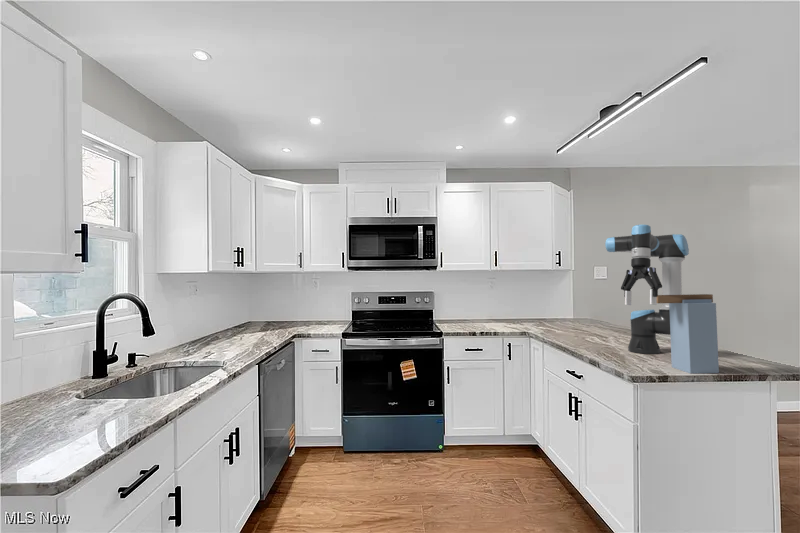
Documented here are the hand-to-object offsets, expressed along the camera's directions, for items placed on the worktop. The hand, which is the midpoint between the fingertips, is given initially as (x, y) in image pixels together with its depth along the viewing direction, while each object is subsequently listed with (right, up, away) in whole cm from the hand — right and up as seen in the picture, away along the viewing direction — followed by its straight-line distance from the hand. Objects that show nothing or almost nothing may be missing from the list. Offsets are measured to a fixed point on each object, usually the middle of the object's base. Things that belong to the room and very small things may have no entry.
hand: (640, 304), depth 175 cm
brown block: (+18, +1, -1) cm, 18 cm away
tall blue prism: (+23, -29, -2) cm, 37 cm away
